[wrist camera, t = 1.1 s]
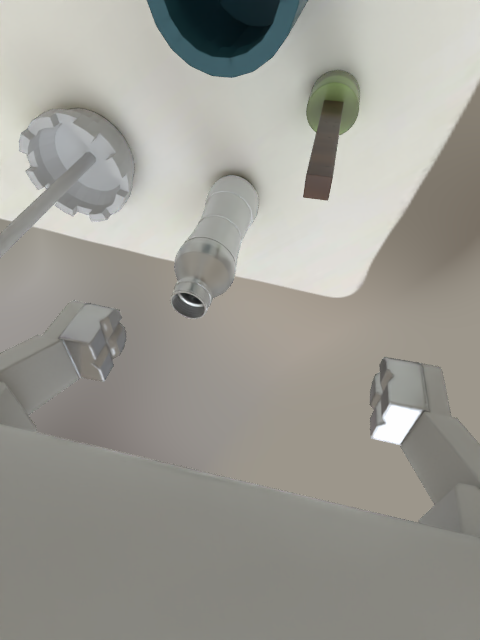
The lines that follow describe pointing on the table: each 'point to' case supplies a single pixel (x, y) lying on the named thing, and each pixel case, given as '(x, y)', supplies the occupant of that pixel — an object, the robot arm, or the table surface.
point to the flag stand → (73, 168)
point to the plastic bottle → (213, 246)
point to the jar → (225, 31)
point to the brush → (329, 127)
